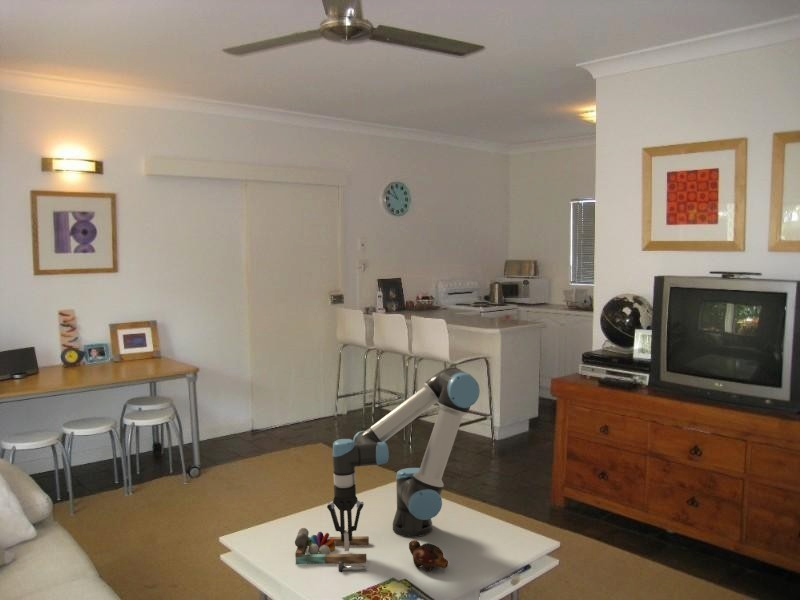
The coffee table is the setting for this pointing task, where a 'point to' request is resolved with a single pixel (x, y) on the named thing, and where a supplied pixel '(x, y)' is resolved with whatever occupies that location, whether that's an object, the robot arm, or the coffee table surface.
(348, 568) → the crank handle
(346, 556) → the bay
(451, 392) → the robot arm
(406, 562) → the coffee table surface
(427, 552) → the decorative turtle
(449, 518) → the coffee table surface
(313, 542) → the rainbow sensory ball
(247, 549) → the coffee table surface
